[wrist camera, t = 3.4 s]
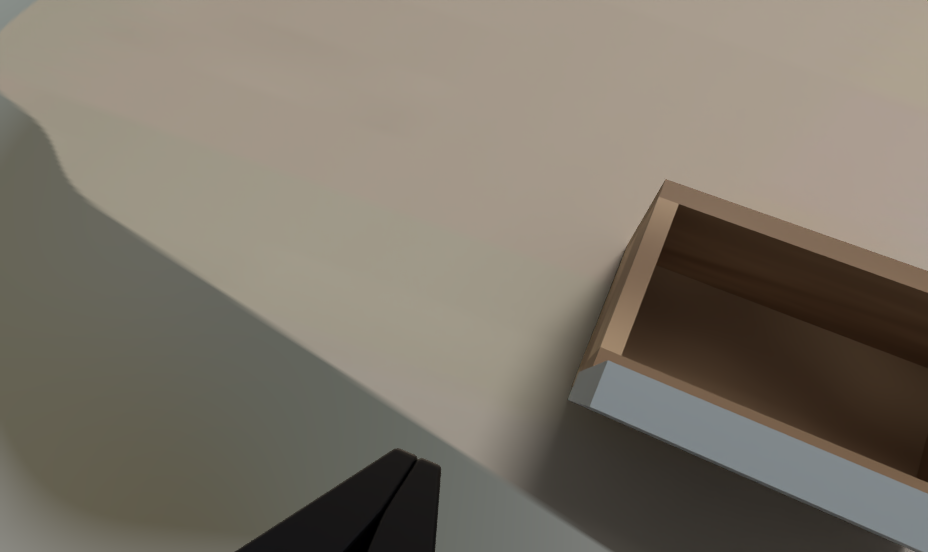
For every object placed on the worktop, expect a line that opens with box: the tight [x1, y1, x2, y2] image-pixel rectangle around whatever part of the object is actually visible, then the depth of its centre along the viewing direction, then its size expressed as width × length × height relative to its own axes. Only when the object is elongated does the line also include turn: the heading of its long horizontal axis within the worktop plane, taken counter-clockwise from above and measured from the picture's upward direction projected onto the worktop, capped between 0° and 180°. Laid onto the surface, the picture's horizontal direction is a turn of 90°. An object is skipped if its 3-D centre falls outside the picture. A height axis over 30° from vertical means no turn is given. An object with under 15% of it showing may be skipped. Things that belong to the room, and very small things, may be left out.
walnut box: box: [572, 179, 928, 494], centre depth 18 cm, size 6×12×6 cm, turn 66°
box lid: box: [568, 360, 928, 552], centre depth 11 cm, size 6×13×1 cm
